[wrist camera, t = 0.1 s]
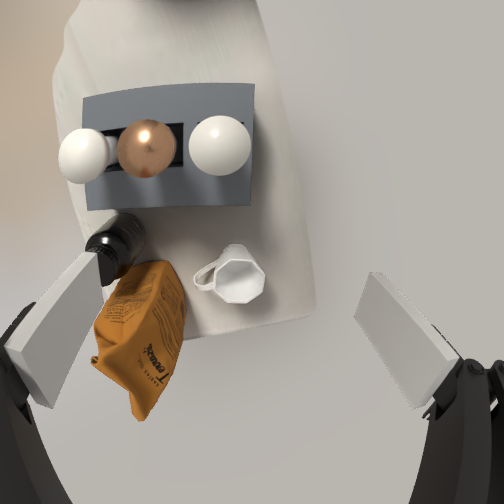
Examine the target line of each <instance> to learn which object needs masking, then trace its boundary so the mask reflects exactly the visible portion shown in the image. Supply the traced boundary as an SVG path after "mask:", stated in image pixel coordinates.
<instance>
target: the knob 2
mask: <svg viewBox="0 0 504 504" xmlns="http://www.w3.org/2000/svg"><path fill="white" fill-rule="evenodd" d="M250 150H251V140H250V136H249V133H248V131H247V130H246V128H245V127H244V126H243V125H242V124H241V123H240V122H239V121H237V120H236V119H234V118H231V117H228V116H213V117H210V118H207V119H205V120H203V121H202V122H201V123H199V124H198V125H197V126H196V127H195V129H194V130H193V132H192V134H191V136H190V140H189V153H190V156H191V159H192V161H193V162H194V164H195V165H196V166H197V167H198V168H199V169H200V170H202V171H203V172H205V173H207V174H210V175H215V176H223V175H228V174H231V173H233V172H235V171H237V170H238V169H239V168H241V167H242V166H243V165H244V163H245V162H246V161H247V159H248V157H249V154H250Z"/></svg>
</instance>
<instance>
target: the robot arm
mask: <svg viewBox="0 0 504 504" xmlns="http://www.w3.org/2000/svg"><path fill="white" fill-rule="evenodd" d="M103 304H104V301H103V295H102V289H101V282H100V275H99V267H98V259H97V253H92V252H82V253H81V254H80V255H79V256H78V257H77V258H76V259H75V260H74V261H73V262H72V264H71V265H70V266H69V267H68V268H67V269H66V270H65V271H64V272H63V273H62V274H61V275H60V276H59V278H58V279H57V280H56V281H55V282H54V283H53V284H52V285H51V287H50V288H49V289H48V290H47V291H46V292H45V294H44V295H43V296H42V297H41V298H40V299H39V300H38V302H37V303H36V302H33V303H31V304H30V305H28V306H27V307H25V308H24V309H23V310H22V311H21V312H20V314H19V315H18V316H17V318H16V319H15V320H14V321H13V322H12V325H10V326H9V327H8V329H7V330H6V331H5V333H4V334H3V335H2V337H1V338H0V504H72V502H71V500H70V499H69V497H68V495H67V493H66V491H65V490H64V488H63V486H62V484H61V482H60V480H59V478H58V476H57V474H56V472H55V470H54V468H53V466H52V464H51V461H50V459H49V457H48V455H47V452H46V450H45V448H44V445H43V443H42V440H41V437H40V435H39V432H38V429H37V426H36V423H35V421H34V417H33V414H32V411H31V408H30V405H29V404H28V401H27V398H28V395H29V393H30V394H31V396H32V397H33V399H34V400H35V402H36V403H37V404H40V405H43V406H45V407H48V408H51V409H53V407H54V405H55V402H56V400H57V397H58V395H59V393H60V390H61V388H62V386H63V383H64V381H65V379H66V376H67V374H68V372H69V370H70V368H71V366H72V364H73V362H74V360H75V357H76V355H77V353H78V351H79V349H80V347H81V345H82V343H83V341H84V339H85V337H86V336H87V334H88V332H89V330H90V328H91V326H92V324H93V322H94V320H95V319H96V317H97V315H98V313H99V311H100V310H101V308H102V306H103ZM354 317H355V319H356V320H357V322H358V323H359V325H360V326H361V328H362V330H363V331H364V333H365V334H366V336H367V337H368V339H369V340H370V342H371V343H372V345H373V346H374V348H375V350H376V351H377V353H378V354H379V356H380V358H381V359H382V361H383V362H384V364H385V365H386V367H387V369H388V370H389V372H390V374H391V375H392V377H393V379H394V380H395V382H396V384H397V385H398V387H399V389H400V390H401V392H402V393H403V395H404V397H405V399H406V400H407V402H408V404H409V406H410V407H411V409H416V408H418V407H421V406H424V405H425V404H426V403H427V402H428V400H429V399H430V398H431V397H432V396H433V397H434V399H435V401H434V403H433V404H432V405H431V406H430V407H429V409H428V410H427V411H426V412H425V413H424V414H423V417H422V418H423V419H424V418H425V417H426V416H427V415H428V413H430V416H429V417H428V418H427V420H429V426H428V431H427V437H426V442H425V447H424V451H423V456H422V460H421V464H420V468H419V472H418V475H417V479H416V483H415V486H414V489H413V492H412V495H411V498H410V501H409V504H504V361H502V360H497V361H495V362H494V364H493V365H492V367H491V368H490V369H484V367H483V366H482V365H481V364H480V363H479V362H478V361H476V360H474V359H466V360H465V361H464V360H463V359H462V357H461V356H460V355H459V354H458V353H457V351H456V350H455V349H454V348H453V347H452V346H451V344H450V343H449V342H448V341H446V339H445V338H444V337H443V335H441V333H440V332H439V331H438V330H437V329H436V327H435V326H433V325H432V324H430V323H429V322H428V321H427V319H425V317H424V316H423V315H422V314H421V313H420V312H419V311H418V310H417V309H416V308H415V307H414V305H413V304H412V303H411V302H410V301H409V300H408V299H407V298H406V297H405V296H404V295H403V294H402V293H401V292H400V291H399V290H398V289H397V288H396V287H395V286H394V285H393V284H392V283H391V282H390V281H389V280H388V279H387V278H386V277H385V276H384V275H383V274H382V273H373V272H370V273H369V276H368V280H367V282H366V285H365V288H364V291H363V294H362V297H361V299H360V302H359V305H358V307H357V310H356V313H355V315H354ZM496 398H497V400H498V404H497V405H496V406H495V408H494V409H493V410H492V411H491V412H490V405H491V404H492V403H493V402H494V401H495V399H496Z"/></svg>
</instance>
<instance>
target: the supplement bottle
mask: <svg viewBox="0 0 504 504" xmlns="http://www.w3.org/2000/svg"><path fill="white" fill-rule="evenodd" d="M144 243H145V230H144V227H143V225H142V224H141V222H140V221H139V220H138V219H137V218H136V217H134V216H132V215H130V214H118V215H115V216H113V217H112V218H111V219H109V220H108V221H107V222H106V223H105V224H104V225H103V226H102V227H100V228H99V229H98V230H97V231H96V232H95V233H94V234H93V235H92V236H91V237H90V238H89V240H88V242H87V244H86V247H85V252H92V253H97V259H98V267H99V275H100V282H101V286H102V287H104V286H107V285H110V284H111V283H112V282H113V281H114V280H116V279H119V278H122V277H123V276H125V275H126V274H127V273H128V271H129V270H130V268H131V266H132V265H133V263H134V261H135V259H136V258H137V256H138V254H139V253H140V251H141V249H142V247H143V245H144Z"/></svg>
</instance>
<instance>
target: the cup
mask: <svg viewBox="0 0 504 504" xmlns="http://www.w3.org/2000/svg"><path fill="white" fill-rule="evenodd" d="M214 267H216V268H215V270H214V281H213V282H211V283H208V284H205V285H199V284H197V281H198V279H199V277H201V276H202V275H203V274H205V273H206V272H208V271H209V270H211V269H212V268H214ZM264 281H265V273H264V271H263V270H262V269H261V267H260V266H259V264H258V263H257V261H256V260H255V259H254V257H253V256H252V255H251V254H250V253H249V251H248V250H247V249H246V248H245V247H244V246H243V244H230V245H229V246H228V247H226V248H225V249H224V250H223V253H222V254H221V256H220V257H219V259H218V260H216V261H214V262H212V263H210V264H208V265H207V266H205V267H204V268H202V269H201V270H199V271H198V272H197V273H196V274H195V276H194V277H193V282H194V284H195V286H196V288H197V290H200V291H207V290H212V289H213V290H214V291H215V292H216V293H217V294H218V295H219V296H220V297H221V298H222V299H223V300H224V301H225V302H226V303H241V304H247V303H248V302H250V301H251V300H253V299H254V298H255V297H257V296H258V295H260V294H261V293H262V292H263V287H264Z"/></svg>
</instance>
